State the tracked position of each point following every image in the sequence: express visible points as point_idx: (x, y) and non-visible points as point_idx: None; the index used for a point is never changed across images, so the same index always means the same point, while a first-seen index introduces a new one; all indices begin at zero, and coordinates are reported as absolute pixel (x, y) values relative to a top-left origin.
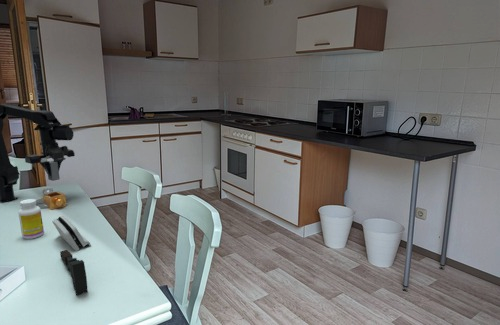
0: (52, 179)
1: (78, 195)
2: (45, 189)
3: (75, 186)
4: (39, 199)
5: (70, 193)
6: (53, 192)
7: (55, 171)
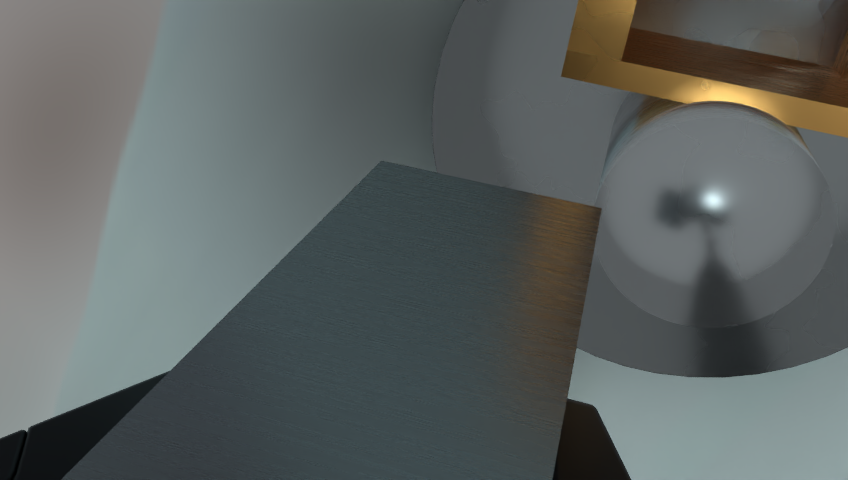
0: (595, 239)
1: (214, 55)
2: (715, 294)
3: (63, 411)
4: (703, 358)
5: (234, 247)
6: (667, 83)
7: (385, 329)
